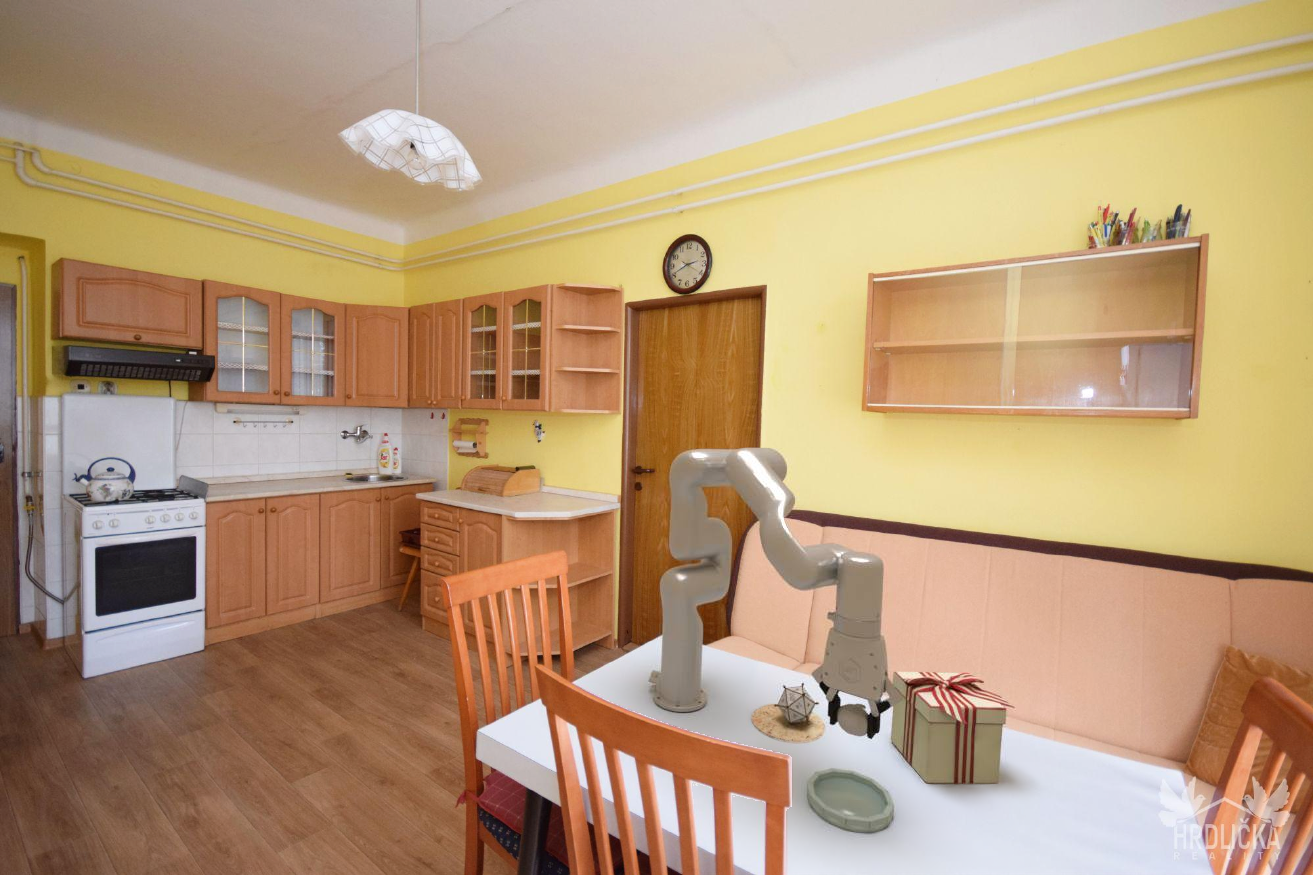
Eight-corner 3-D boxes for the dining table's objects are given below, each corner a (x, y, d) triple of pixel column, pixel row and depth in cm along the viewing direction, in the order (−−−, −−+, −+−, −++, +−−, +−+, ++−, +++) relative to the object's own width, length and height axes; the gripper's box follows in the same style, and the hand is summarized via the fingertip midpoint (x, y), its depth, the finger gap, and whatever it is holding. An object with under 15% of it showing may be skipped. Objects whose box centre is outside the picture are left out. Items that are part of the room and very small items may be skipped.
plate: (794, 806, 99) (794, 795, 99) (825, 770, 110) (825, 759, 110) (877, 845, 91) (878, 833, 91) (902, 801, 102) (903, 790, 102)
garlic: (877, 734, 100) (879, 704, 99) (861, 745, 96) (862, 714, 96) (846, 720, 104) (847, 691, 104) (829, 729, 100) (830, 700, 100)
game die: (802, 742, 126) (820, 720, 121) (766, 723, 128) (782, 701, 122) (809, 707, 134) (826, 684, 128) (774, 689, 135) (790, 666, 129)
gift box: (939, 798, 103) (944, 703, 103) (883, 741, 121) (887, 660, 121) (1024, 793, 106) (1029, 700, 105) (957, 738, 124) (961, 658, 123)
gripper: (801, 618, 102) (797, 719, 102) (904, 644, 91) (898, 756, 92) (818, 609, 108) (814, 704, 108) (916, 632, 97) (911, 737, 98)
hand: (853, 727), depth 100 cm, fingers closed on garlic, 5 cm apart
